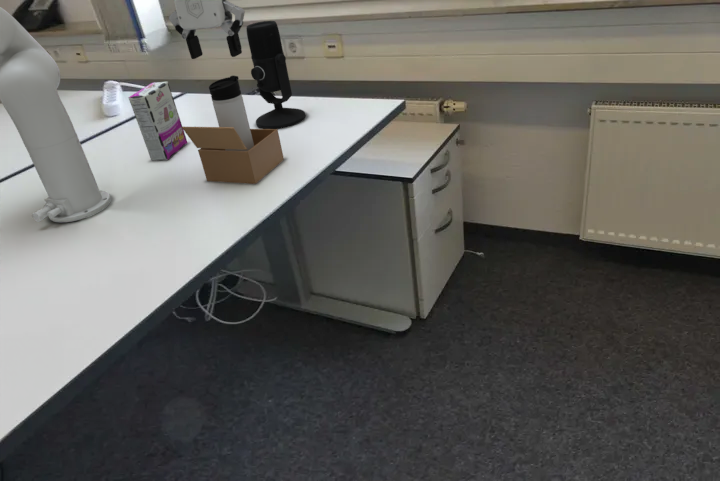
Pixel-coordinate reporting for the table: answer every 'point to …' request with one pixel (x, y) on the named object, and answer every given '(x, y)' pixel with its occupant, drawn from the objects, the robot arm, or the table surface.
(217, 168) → the carton
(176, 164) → the table surface
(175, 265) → the table surface
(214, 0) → the robot arm
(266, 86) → the microphone
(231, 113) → the travel mug
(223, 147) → the front flap
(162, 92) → the candy bar box
